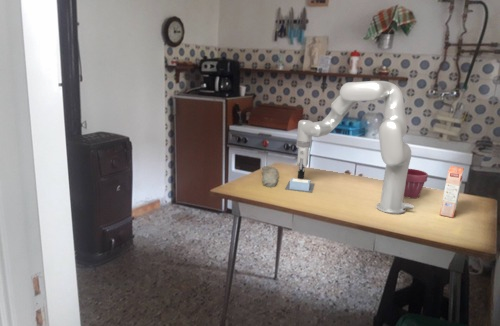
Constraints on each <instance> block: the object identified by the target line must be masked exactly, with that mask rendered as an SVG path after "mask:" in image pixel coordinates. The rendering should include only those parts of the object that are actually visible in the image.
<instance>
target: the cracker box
mask: <svg viewBox="0 0 500 326" xmlns="http://www.w3.org/2000/svg"><path fill="white" fill-rule="evenodd" d="M464 170H465V168H464V167H462V166H455V165H450V166H449V169H448V170H447V174H446V175H447V176H446V180H445V186H444V189H443V195H442V201H441V206H440V212H439V216H443V217H447V218H452V219H453V218H454V216H455V213H456V209H457V205H458V200H459V197H460V192H461V187H462V181H463V177H464V172H465V171H464Z"/></svg>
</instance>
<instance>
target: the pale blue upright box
mask: <svg viewBox="0 0 500 326" xmlns="http://www.w3.org/2000/svg"><path fill="white" fill-rule="evenodd" d="M289 181H290V187H289V189H295V190H304V191H309V189H310V183H311V179H300V178H295V177H292V178H290V180H289Z"/></svg>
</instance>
